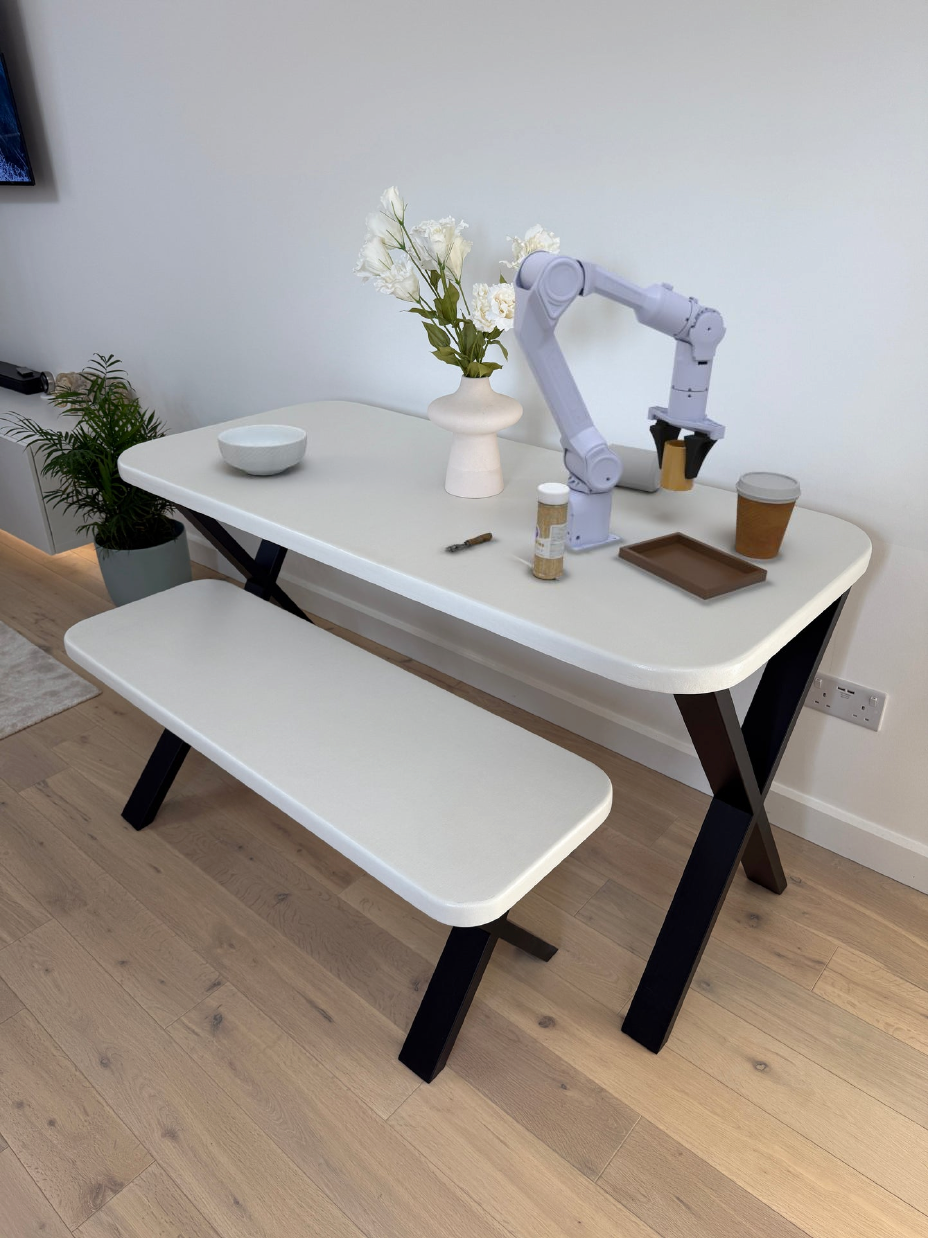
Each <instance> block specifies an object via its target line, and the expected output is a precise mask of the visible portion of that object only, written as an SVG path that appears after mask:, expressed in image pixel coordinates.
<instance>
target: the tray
mask: <svg viewBox="0 0 928 1238" xmlns="http://www.w3.org/2000/svg"><path fill="white" fill-rule="evenodd" d="M618 558H620V559H622V560H624V561H626V562H629V563H630V564H632V565H634V566H636V567H638V568H640V569H642V570H644V571H646V572H648V573H650V574H652V575H654V576H656V577H658V578H660V579H661V580H664V581H665V582H667V583H668V582H669V583H670V584H672V585H675V586H676V587H678V588H680V589H682V590H684V591H686V592H688V593H690V594H692V595H694V596H696V597H698V598H699V599H702V600H703V601H707V600H710V599H712V598H716V597H720V596H722V595H725V594H729V593H731V592H735V591H737V590H741V589H744V588H748V587H750V586H753V585H756V584H759V583H762V582H765V581H767V577H768V570H767V569H765V568H763V567H761V566H758V565H756V564H753V563H751V562H748V561H746V560H745V559H742V558H740V557H737V556H735V555H733V554H731V553H729V552H725V551H724V550H722V549H719V548H717V547H715V546H712V545H710V544H707V543H705V542H704V541H701V540H698V539H696V538H694V537H691V536H689V535H687V534H684V533H682V532H680V531H677V532H673V533H669V534H666V535H662V536H658V537H654V538H650V539H646V540H643V541H639V542H635V543H632V544H628V545H624V546H620V547H619V549H618Z"/></svg>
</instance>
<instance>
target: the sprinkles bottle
mask: <svg viewBox="0 0 928 1238" xmlns="http://www.w3.org/2000/svg"><path fill="white" fill-rule="evenodd" d="M566 485H567V484H564V483H560V482H544V483H541V484H539V485H538V486H537V490H536V499H537V511H536V513H537V514H536V516H537V517H536V524H535V538H534V549H533V550H534V557H533V567H532V574H533V575H534V576H535V577H536V578H539V579H541V580H555V579H556V578H559V577H561V576H562V575H563V574H564V570H563V568H564V567H563V565H564V556H565V549H566V546H565V539H566V526H567V509H568V501H569V498H570V488H569V487H568V486H566Z"/></svg>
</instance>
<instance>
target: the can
mask: <svg viewBox="0 0 928 1238" xmlns="http://www.w3.org/2000/svg"><path fill="white" fill-rule="evenodd" d="M608 447H609V448H610V450H611V451H612V452H614V453H615V454H617V455H618V456H619V457H620V459H621V461H622V464H623V473H622V476H621V478H620V480H619V482H618V483H617V484H616V485H615V486H618V487H624V488H627V489H628V488H629V489H634V490H638V491H644V492H648V493H653V492H655V491H656V490H658V489H659V488H660V487H661V486H660V477H661V469H659V463H658V455H657V450H652V449H646V448H639V447H633V446H628V445H622V444H617V443H610V444H608Z"/></svg>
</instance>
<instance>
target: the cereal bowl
mask: <svg viewBox="0 0 928 1238" xmlns="http://www.w3.org/2000/svg"><path fill="white" fill-rule="evenodd" d="M217 443H218V449H219V453H220V454H221V456H222V458H223V460H225V462H227V463H228V464H229V465H230V466H232V467H235V468H237V469H240V470H243V471H244V472H245V473H246V474H250V475H253V476H271V475H272V476H273V475H278V474H281V473H283V472H284V471H286V469H288V468H291V467H293V466H295V465H296V464H298V463H299V462H300V461H301V460H302V459H303V458H304V456H305V454H306V451H307V447H308V435H307V432H306V431H305V430H304V429H301V428H299V427H296V426H291V425H285V424H252V425H245V426H236V427H234V428H233V427H232V428H229V429H226V430H224V431H223V430H222V431H221V432H220V433H219V434H218V435H217Z"/></svg>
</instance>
